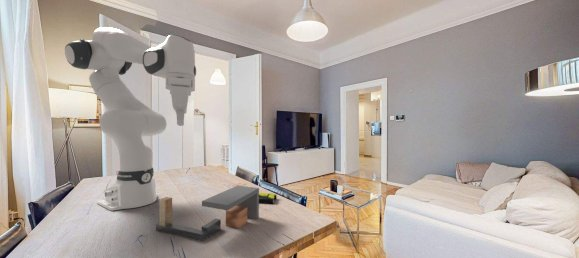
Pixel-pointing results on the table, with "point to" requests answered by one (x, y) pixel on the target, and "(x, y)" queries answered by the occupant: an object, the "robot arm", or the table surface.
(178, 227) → the tan-tipped l-shaped bar
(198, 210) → the table surface
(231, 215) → the cube
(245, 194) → the grey l-shaped bookend
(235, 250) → the table surface
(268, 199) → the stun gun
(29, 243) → the table surface
